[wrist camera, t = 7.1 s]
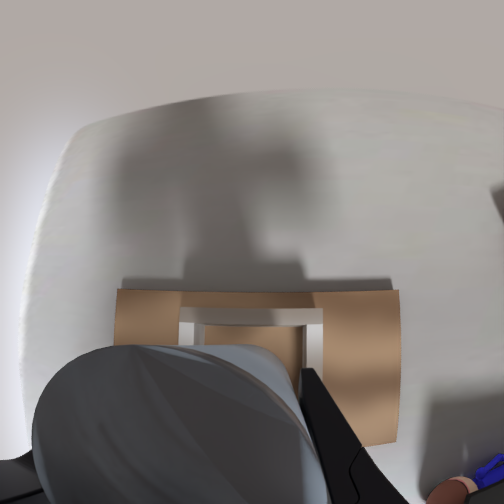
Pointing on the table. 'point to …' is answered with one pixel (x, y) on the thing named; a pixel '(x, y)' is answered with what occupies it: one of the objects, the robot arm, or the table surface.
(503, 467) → the figurine character
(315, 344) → the jig
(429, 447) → the table surface
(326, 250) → the table surface
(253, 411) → the blue-grey cylinder
